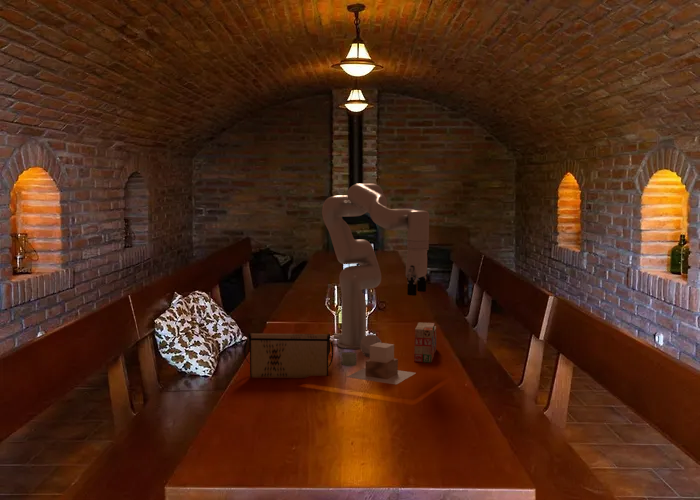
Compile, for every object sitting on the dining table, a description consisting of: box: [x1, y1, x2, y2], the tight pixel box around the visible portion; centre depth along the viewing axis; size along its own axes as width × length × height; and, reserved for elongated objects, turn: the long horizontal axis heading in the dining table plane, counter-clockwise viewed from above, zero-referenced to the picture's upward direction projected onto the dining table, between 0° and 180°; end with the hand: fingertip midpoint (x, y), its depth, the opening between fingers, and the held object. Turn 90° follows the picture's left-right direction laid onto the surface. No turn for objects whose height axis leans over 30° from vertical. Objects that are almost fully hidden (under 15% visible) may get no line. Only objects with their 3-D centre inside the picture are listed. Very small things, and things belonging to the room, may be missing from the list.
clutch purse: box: [243, 333, 335, 379], centre depth 245 cm, size 30×7×15 cm, turn 90°
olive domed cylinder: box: [341, 351, 357, 367], centre depth 258 cm, size 5×5×5 cm
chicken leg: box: [360, 334, 383, 358], centre depth 270 cm, size 8×18×8 cm, turn 8°
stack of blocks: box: [413, 322, 437, 363], centre depth 276 cm, size 21×6×12 cm, turn 169°
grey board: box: [346, 366, 417, 385], centre depth 244 cm, size 18×16×1 cm
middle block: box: [369, 342, 395, 363], centre depth 244 cm, size 6×6×5 cm
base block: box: [365, 357, 399, 379], centre depth 244 cm, size 8×8×5 cm
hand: (416, 293), depth 262 cm, fingers open, 9 cm apart
